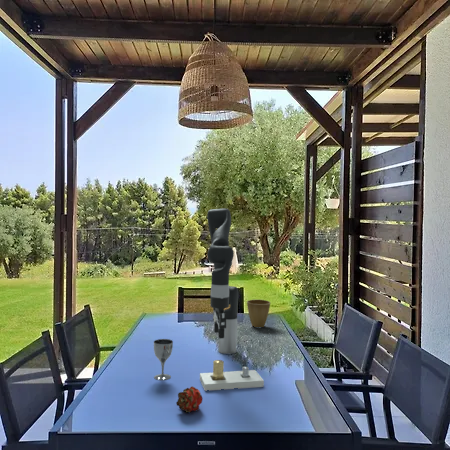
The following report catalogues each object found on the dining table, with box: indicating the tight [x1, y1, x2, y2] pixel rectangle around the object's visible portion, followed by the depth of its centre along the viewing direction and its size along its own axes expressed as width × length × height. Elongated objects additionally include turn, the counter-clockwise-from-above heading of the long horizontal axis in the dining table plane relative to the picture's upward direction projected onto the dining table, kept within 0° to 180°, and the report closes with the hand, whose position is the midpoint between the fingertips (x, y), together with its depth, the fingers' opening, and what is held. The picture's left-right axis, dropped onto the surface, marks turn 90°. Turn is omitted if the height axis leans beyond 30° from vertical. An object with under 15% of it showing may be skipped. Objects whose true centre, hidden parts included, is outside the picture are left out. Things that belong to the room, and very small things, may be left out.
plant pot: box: [246, 299, 271, 328], centre depth 262 cm, size 15×15×16 cm
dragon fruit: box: [175, 386, 203, 413], centre depth 143 cm, size 8×8×12 cm
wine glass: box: [153, 338, 174, 381], centre depth 173 cm, size 8×8×15 cm
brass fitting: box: [212, 359, 225, 381], centre depth 167 cm, size 4×4×9 cm
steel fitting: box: [241, 366, 250, 378], centre depth 169 cm, size 3×3×6 cm
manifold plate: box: [199, 369, 265, 392], centre depth 168 cm, size 12×24×2 cm, turn 103°
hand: (219, 335), depth 167 cm, fingers open, 8 cm apart
